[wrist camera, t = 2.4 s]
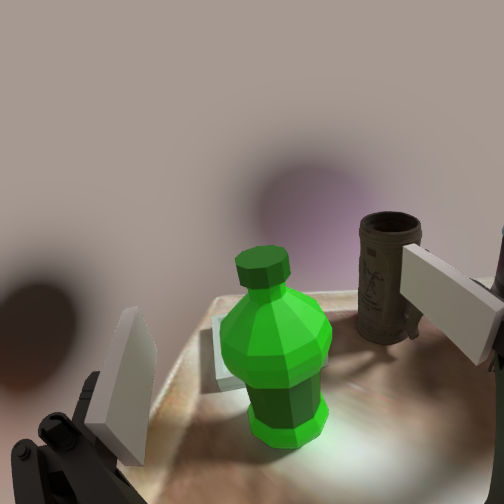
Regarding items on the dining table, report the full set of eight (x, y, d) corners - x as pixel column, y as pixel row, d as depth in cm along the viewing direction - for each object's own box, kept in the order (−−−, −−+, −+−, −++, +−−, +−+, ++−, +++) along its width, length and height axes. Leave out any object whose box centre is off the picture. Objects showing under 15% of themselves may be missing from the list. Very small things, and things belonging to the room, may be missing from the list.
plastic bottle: (338, 406, 35) (338, 232, 25) (311, 470, 26) (298, 300, 17) (272, 392, 40) (239, 230, 30) (237, 447, 31) (170, 283, 22)
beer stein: (342, 319, 52) (343, 218, 43) (385, 299, 54) (392, 204, 45) (395, 371, 39) (419, 258, 30) (438, 341, 41) (464, 235, 32)
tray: (298, 308, 58) (297, 296, 57) (328, 365, 42) (328, 352, 41) (215, 328, 57) (211, 316, 56) (221, 391, 41) (216, 379, 40)
